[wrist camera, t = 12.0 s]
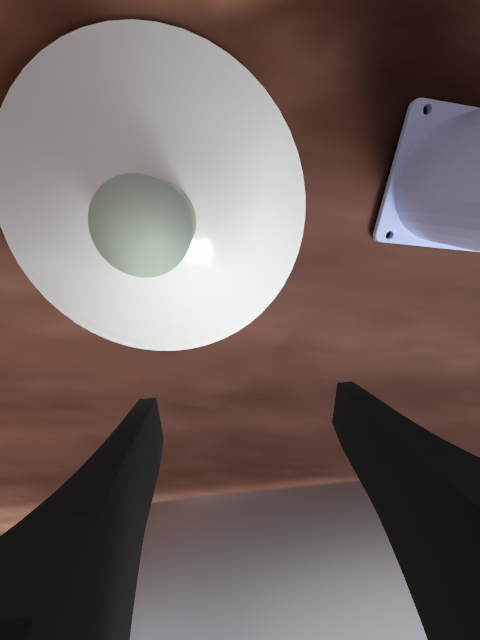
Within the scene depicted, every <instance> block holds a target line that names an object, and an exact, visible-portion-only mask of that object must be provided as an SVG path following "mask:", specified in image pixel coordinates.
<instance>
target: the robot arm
mask: <svg viewBox="0 0 480 640" xmlns="http://www.w3.org/2000/svg"><path fill="white" fill-rule="evenodd" d="M424 106H426V107H427V113H426V115H425V114H424V113H423V108H424ZM388 232H390V236H389V237H388V238H386V234H387V233H388ZM373 238H374V240H375V241H378V242H384V243H394V244H404V245H414V246H424V247H434V248H444V249H453V250H463V251H473V252H480V108H478V107H473V106H467V105H461V104H456V103H450V102H444V101H439V100H433V99H427V98H417V99H415V100H414V101H412V102H411V103H410V104H409V107H408V109H407V113H406V116H405V120H404V124H403V127H402V131H401V134H400V138H399V142H398V145H397V149H396V152H395V156H394V160H393V163H392V167H391V170H390V174H389V178H388V181H387V185H386V189H385V192H384V196H383V199H382V203H381V207H380V210H379V214H378V217H377V221H376V225H375V228H374V232H373ZM332 423H333V425H334V428H335V431H336V434H337V436H338V439H339V441H340V443H341V446H342V448H343V450H344V452H345V454H346V455H347V457H348V459H349V461H350V463H351V465H352V467H353V469H354V470H355V472H356V474H357V476H358V478H359V480H360V481H361V483H362V485H363V487H364V488H365V490H366V492H367V494H368V496H369V497H370V500H371V502H372V504H373V506H374V508H375V510H376V512H377V514H378V516H379V518H380V520H381V523H382V525H383V527H384V530H385V532H386V534H387V536H388V538H389V541H390V543H391V546H392V548H393V551H394V553H395V555H396V558H397V560H398V562H399V565H400V568H401V570H402V573H403V575H404V577H405V580H406V583H407V585H408V588H409V590H410V593H411V595H412V598H413V601H414V603H415V606H416V609H417V611H418V614H419V616H420V619H421V622H422V625H423V627H424V630H425V633H426V636H427V639H428V640H480V458H479V457H477V456H475V455H473V454H471V453H469V452H467V451H465V450H463V449H461V448H459V447H457V446H455V445H453V444H451V443H449V442H447V441H445V440H444V439H442V438H440V437H438V436H436V435H434V434H433V433H431V432H429V431H428V430H426V429H424V428H423V427H421V426H419V425H418V424H416V423H414V422H413V421H411V420H409V419H408V418H406V417H405V416H403V415H401V414H400V413H398V412H397V411H395V410H394V409H392V408H391V407H389V406H388V405H386V404H385V403H383V402H382V401H380V400H379V399H377V398H376V397H375V396H373V395H372V394H370V393H369V392H367V391H366V390H364V389H363V388H361V387H360V386H358V385H357V384H355V383H353V382H343V383H338V384H337V391H336V399H335V406H334V413H333V421H332ZM162 446H163V433H162V428H161V422H160V417H159V411H158V405H157V400H156V398H148V399H140V400H139V401H138V402H137V403H136V404H135V406H134V407H133V408H132V409H131V411H130V412H129V413H128V414H127V416H126V417H125V418H124V419H123V421H122V422H121V423H120V424H119V425H118V427H117V428H116V429H115V430H114V431H113V433H112V434H111V435H110V436H109V437H108V438H107V440H106V441H105V442H104V443H103V444H102V445H101V446H100V448H99V449H98V450H97V451H96V452H95V453H94V454H93V455H92V456H91V457H90V458H89V459H88V460H87V461H86V463H85V464H84V465H83V466H82V467H81V468H80V469H79V470H78V471H77V472H76V473H75V474H74V475H73V476H72V477H71V478H70V479H69V480H67V481H66V482H65V483H64V484H63V485H62V486H61V487H60V488H59V489H58V490H57V491H56V492H54V493H53V494H52V495H51V496H50V497H49V498H47V499H46V500H45V501H44V502H43V503H41V504H40V505H39V506H38V507H37V508H35V509H34V510H33V511H32V512H31V513H29V514H28V515H27V516H26V517H25V518H23V519H22V520H21V521H20V522H19V523H17V524H16V525H15V526H13V527H12V528H11V529H9V530H8V531H7V532H6V533H4V534H3V535H2V536H0V640H129V638H130V629H131V622H132V614H133V606H134V598H135V592H136V584H137V576H138V569H139V563H140V556H141V549H142V543H143V537H144V532H145V528H146V523H147V519H148V515H149V511H150V506H151V502H152V498H153V494H154V489H155V485H156V481H157V477H158V472H159V468H160V462H161V454H162Z"/></svg>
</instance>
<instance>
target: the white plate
mask: <svg viewBox="0 0 480 640" xmlns="http://www.w3.org/2000/svg"><path fill="white" fill-rule="evenodd" d="M125 173H141V174H146V175H149V176H152V177H155V178H158V179H161V180H164V181H167V182H170V183H172V184H174V185H176V186H177V187H179V188H180V189H181V190H182V191H183V192H184V193H185V194H186V195H187V197H188V198H189V199H190V201H191V203H192V205H193V207H194V210H195V214H196V230H195V234H194V236H193V239H192V241H191V244H190V246H189V249H188V251H187V253H186V255H185V257H184V258H183V260H182V261H181V262H180V263H179V264H178V265H177V266H176V267H175V268H174V269H173V270H171V271H169V272H168V273H166V274H163V275H160V276H156V277H149V278H142V277H135V276H132V275H128V274H126V273H123V272H121V271H119V270H118V269H116V268H115V267H113V266H112V265H111V264H109V263H108V262H107V261H106V260H105V259H104V258H103V257H102V256H101V254H100V253H99V252H98V250H97V249H96V247H95V245H94V243H93V241H92V238H91V235H90V232H89V227H88V210H89V206H90V202H91V200H92V198H93V196H94V194H95V192H96V191H97V190H98V188H99V187H100V186H101V185H102V184H103V183H105V182H106V181H107V180H109V179H111V178H113V177H115V176H117V175H121V174H125ZM304 222H305V186H304V178H303V171H302V167H301V163H300V159H299V155H298V151H297V148H296V146H295V143H294V140H293V138H292V135H291V132H290V130H289V128H288V126H287V124H286V122H285V120H284V118H283V116H282V114H281V112H280V110H279V109H278V107H277V106H276V104H275V103H274V101H273V100H272V98H271V97H270V95H269V94H268V93H267V91H266V90H265V88H264V87H263V86H262V85H261V84H260V83H259V82H258V80H257V79H256V78H255V77H254V76H253V75H252V74H251V73H250V72H249V70H248V69H246V68H245V67H244V66H243V65H242V64H241V63H239V62H238V61H237V60H236V59H235V58H233V57H232V56H231V55H230V54H229V53H227V52H226V51H224V50H223V49H221V48H220V47H218V46H216V45H215V44H213V43H212V42H210V41H209V40H207V39H205V38H203V37H200V36H198V35H196V34H194V33H191V32H189V31H187V30H185V29H182V28H179V27H175V26H171V25H168V24H164V23H160V22H155V21H145V20H136V19H127V20H112V21H104V22H100V23H96V24H92V25H88V26H84V27H82V28H79V29H77V30H75V31H73V32H70V33H68V34H66V35H64V36H62V37H60V38H58V39H57V40H56V41H54V42H53V43H51V44H50V45H48V46H47V47H45V48H44V49H43V50H41V51H40V52H39V53H38V54H37V55H36V56H35V57H34V58H33V59H32V60H31V61H30V62H29V63H28V64H27V65H26V66H25V67H24V68H23V70H22V71H21V72H20V74H19V75H18V77H17V78H16V80H15V81H14V83H13V84H12V86H11V87H10V89H9V91H8V93H7V95H6V97H5V99H4V102H3V104H2V106H1V108H0V226H1V229H2V231H3V234H4V236H5V238H6V241H7V243H8V246H9V248H10V249H11V251H12V253H13V255H14V257H15V258H16V260H17V262H18V264H19V265H20V267H21V268H22V270H23V271H24V272H25V274H26V275H27V277H28V278H29V280H30V281H31V282H32V284H33V285H34V286H35V287H36V288H37V289H38V290H39V291H40V292H41V294H42V295H43V296H44V297H45V298H46V299H47V300H48V301H49V302H50V303H51V304H53V305H54V306H55V307H56V308H57V309H58V310H59V311H60V312H62V313H63V314H64V315H66V316H67V317H68V318H70V319H71V320H73V321H74V322H75V323H77V324H78V325H80V326H82V327H84V328H85V329H87V330H89V331H91V332H92V333H94V334H97V335H99V336H101V337H103V338H106V339H108V340H110V341H113V342H117V343H120V344H123V345H126V346H130V347H135V348H140V349H147V350H157V351H177V350H185V349H193V348H197V347H201V346H205V345H209V344H211V343H214V342H217V341H219V340H222V339H224V338H226V337H228V336H230V335H232V334H234V333H236V332H238V331H239V330H241V329H242V328H244V327H245V326H246V325H248V324H249V323H251V322H252V321H253V320H254V319H255V318H257V317H258V316H259V315H260V314H261V313H262V312H263V311H264V310H265V309H266V308H267V307H268V306H269V305H270V303H271V302H272V301H273V300H274V299H275V297H276V296H277V294H278V293H279V292H280V290H281V289H282V287H283V286H284V284H285V282H286V280H287V278H288V276H289V275H290V273H291V271H292V269H293V266H294V263H295V261H296V258H297V255H298V253H299V249H300V245H301V241H302V237H303V230H304Z"/></svg>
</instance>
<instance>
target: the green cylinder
mask: <svg viewBox="0 0 480 640" xmlns="http://www.w3.org/2000/svg"><path fill="white" fill-rule="evenodd" d="M88 227H89V232H90V235H91V238H92V241H93V243H94V245H95V247H96V249H97V250H98V252H99V253H100V254H101V256H102V257H103V258H104V259H105V260H106V261H107V262H108V263H109V264H111V265H112V266H113V267H115V268H116V269H118V270H119V271H121V272H123V273H126V274H128V275H132V276H135V277H142V278H149V277H156V276H160V275H163V274H166V273H168V272H169V271H171V270H173V269H174V268H175V267H176V266H177V265H178V264H179V263H180V262H181V261H182V260H183V258H184V257H185V255H186V253H187V251H188V249H189V246H190V244H191V241H192V239H193V236H194V234H195V230H196V214H195V210H194V207H193V205H192V203H191V201H190V199H189V198H188V197H187V195H186V194H185V193H184V192H183V191H182V190H181V189H180V188H179V187H177V186H176V185H174V184H172V183H170V182H167V181H164V180H161V179H158V178H155V177H152V176H149V175H146V174H141V173H125V174H121V175H117V176H115V177H113V178H111V179H109V180H107V181H106V182H105V183H103V184H102V185H101V186H100V187H99V188H98V190H97V191H96V192H95V194H94V196H93V198H92V200H91V202H90V206H89V210H88Z"/></svg>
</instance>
